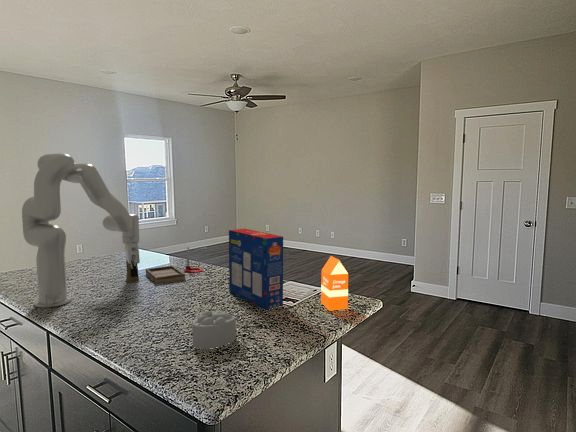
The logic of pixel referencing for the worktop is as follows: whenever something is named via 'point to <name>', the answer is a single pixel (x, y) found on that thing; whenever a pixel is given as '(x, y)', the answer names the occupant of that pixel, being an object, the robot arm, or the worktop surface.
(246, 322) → the worktop surface
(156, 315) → the worktop surface
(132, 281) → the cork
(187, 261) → the tow hook
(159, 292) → the worktop surface
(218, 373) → the worktop surface
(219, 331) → the lumpy-topped squat cylinder
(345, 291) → the orange juice
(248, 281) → the pasta box
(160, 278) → the walnut tray
